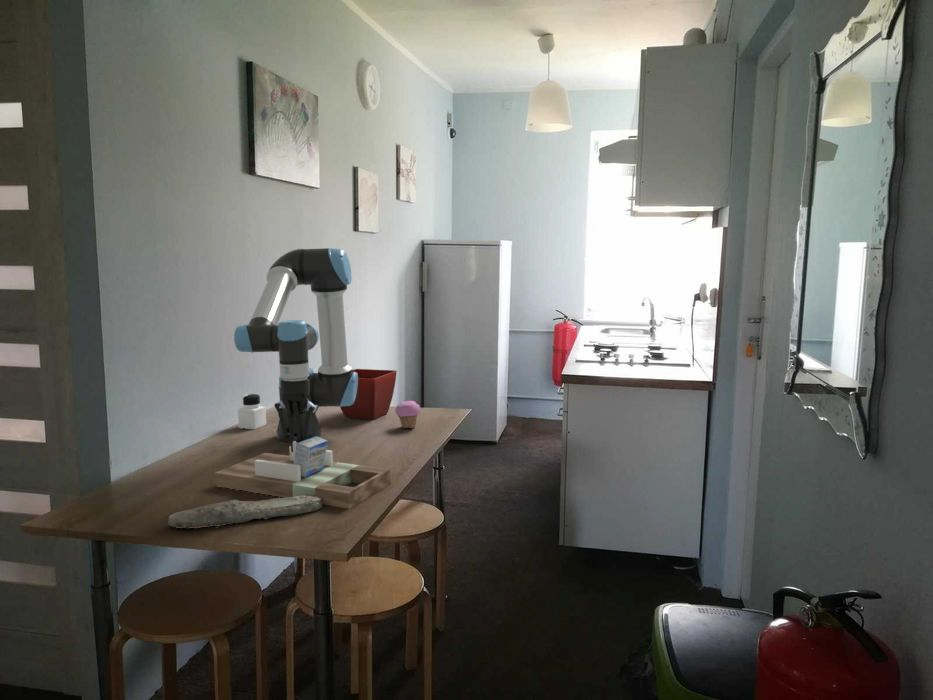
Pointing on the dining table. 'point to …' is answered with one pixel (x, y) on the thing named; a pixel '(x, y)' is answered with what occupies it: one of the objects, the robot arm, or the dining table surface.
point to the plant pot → (372, 394)
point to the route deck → (309, 481)
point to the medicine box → (310, 455)
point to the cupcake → (408, 413)
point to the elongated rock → (244, 511)
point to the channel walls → (285, 468)
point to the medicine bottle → (252, 413)
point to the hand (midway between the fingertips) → (299, 464)
